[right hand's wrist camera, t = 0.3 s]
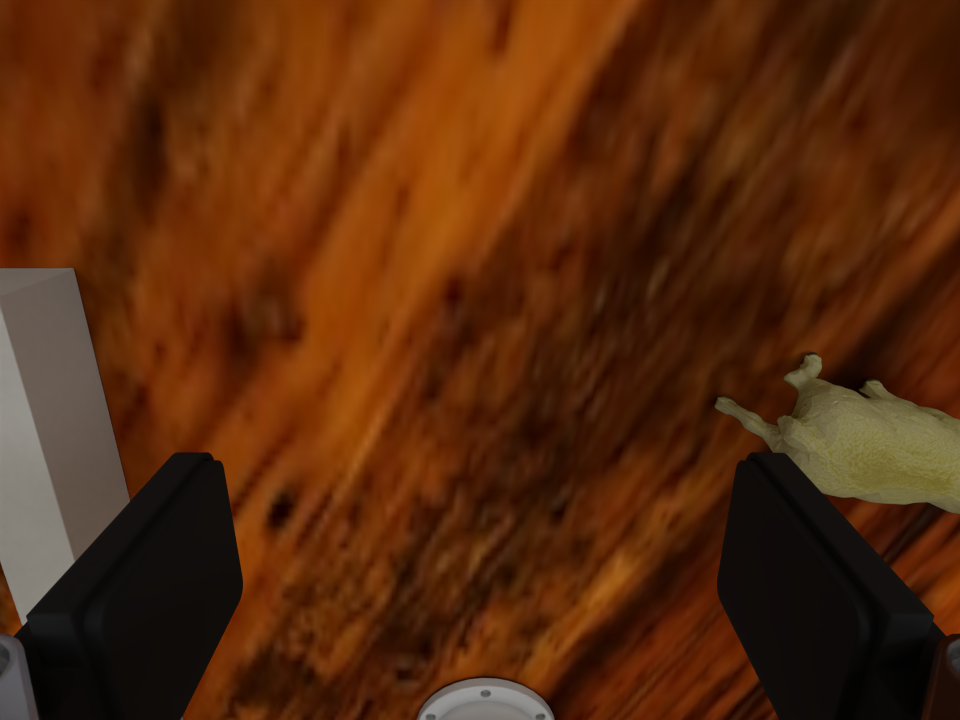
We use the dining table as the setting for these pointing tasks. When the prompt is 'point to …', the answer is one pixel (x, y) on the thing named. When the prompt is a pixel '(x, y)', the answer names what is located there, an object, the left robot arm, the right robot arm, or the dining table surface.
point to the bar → (50, 434)
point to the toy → (863, 441)
